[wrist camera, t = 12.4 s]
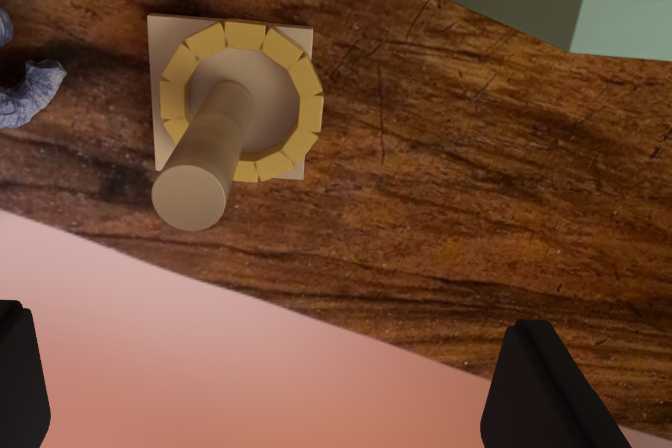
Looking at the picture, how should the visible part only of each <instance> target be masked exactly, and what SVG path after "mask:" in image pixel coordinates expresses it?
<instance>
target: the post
mask: <svg viewBox="0 0 672 448" xmlns="http://www.w3.org/2000/svg"><path fill="white" fill-rule="evenodd" d="M219 20H221V19H219V18H207V17H195V16H183V15H171V14H160V13H151V14H149V15H147V27H148V45H149V62H150V80H151V97H152V115H153V132H154V150H155V168H156V171H161V172H160V173H159V175H158V177H157V178H156V180H155V182H154V184H153V187H152V202H153V205H154V207H155V210H156V211H157V213H158V214H159V216H160V217H161V218H162V219H163V220H164V221H165V222H167V223H168V224H170V225H171V226H173V227H175V228H178V229H181V230H186V231H198V230H202V229H205V228H208V227H210V226H212V225H213V224H214V223H216V222H217V221H218V220H219V218H220V217H221V216H222V214H223V212H224V209H225V206H226V202H227V199H228V196H229V192H230V189H231V185H232V182H233V178H234V175H235V171H236V168H237V165H238V161H239V158H240V154H241V153H246V154H258V153H260V152H262V151H265V150H267V149H269V148H271V147H274V146H276V145H278V144H280V143H282V142H283V140H284V139H285V137H286V136H287V135H288V133H289V132H290V130H291V129H292V128H293V126H294V125H295V123H296V122H297V121H298V108H299V95H298V93H297V91H296V89H295V87H294V84H293V82H292V80H291V78H290V76H289V74H288V72H287V70H286V69H285V68H283V67H282V66H281V65H279V64H278V63H276V62H275V61H274V60H272V59H271V58H269V57H268V56H267V55H265V54H264V53H262V52H261V51H255V50H245V49H235V48H227V49H225V50H223V51H221V52H218V53H216V54H214V55H212V56H210V57H208V58H206V59H204V60H202V61H201V63H200V64H199V66H198V67H197V69H196V71H195V72H194V74H193V76H192V77H191V79H190V80H189V112H190V113H191V115H192V117H193V119H192V121H191V122H190V124H189V126H188V127H187V129H186V131H185V132H184V134H183V136H182V137H181V139H180V141H179V142H178V144H177V145H175V144H174V142H173V140H172V139H171V137H170V135H169V134H168V132H167V130H166V129H165V127H164V125H163V122H164V120H165V119H162V118H161V116H160V82H159V81H160V80H161V79H162V78H163V77H162V73H163V71H164V69H165V67H166V66H167V64H168V62H169V61H170V59H171V57H172V56H173V54H174V52H175V51H176V49H177V47H178V46H179V44H180V43H181V42H182V41H183V40H185V38H186V37H187V36H189V35H190V34H192V33H194V32H196V31H198V30H200V29H203V28H205V27H207V26H209V25H211V24H213V23H215V22H217V21H219ZM226 20H227V19H223V21H224V23H225V21H226ZM271 25H274V26H275V27H276V28H278V29H279V30H281V31H282V32H283V33H285V34H286V35H287V36H289V37H290V38H291V39H293V40H294V41H296V42H297V43H298V44H300V45H301V46H302V47H303V53H304V52H307V53H308V55H309V57H310V59H311V57H312V42H313V27H312V26H301V25H289V24H278V23H267V30H268V29H269V27H270V26H271ZM304 161H305V156H304V158H303V159H302V160H301V162H300V163H299V164H298V165H297V164H295V163H294V168H293V169H291V170H289V171H286V172H284V173H282V174H279V175H277V176H275V177H272V178H283V179H299V180H303V176H304Z"/></svg>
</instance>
